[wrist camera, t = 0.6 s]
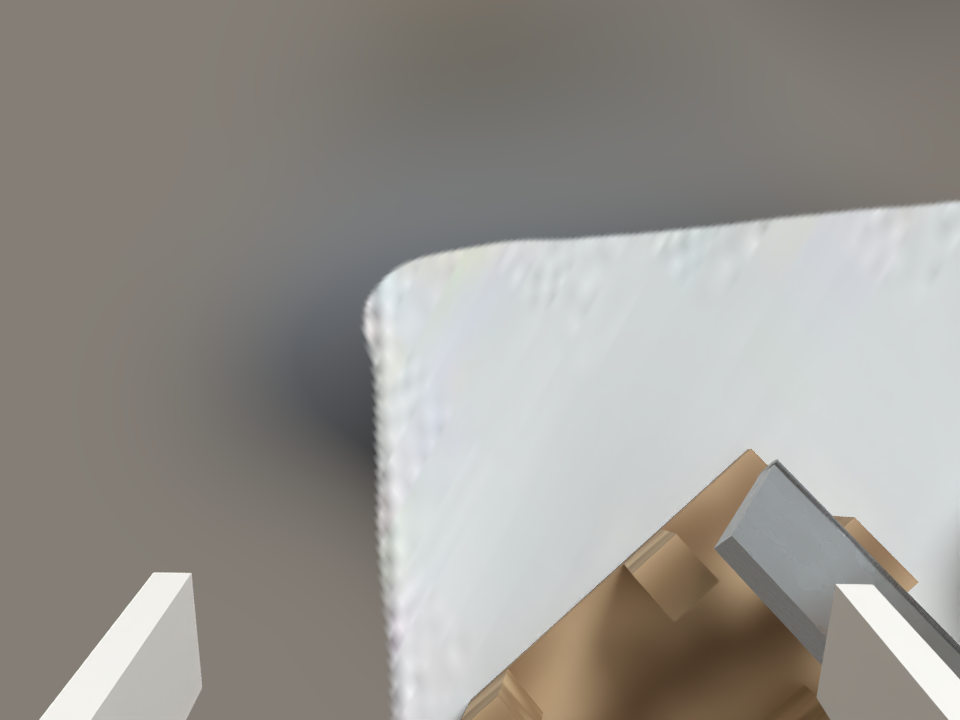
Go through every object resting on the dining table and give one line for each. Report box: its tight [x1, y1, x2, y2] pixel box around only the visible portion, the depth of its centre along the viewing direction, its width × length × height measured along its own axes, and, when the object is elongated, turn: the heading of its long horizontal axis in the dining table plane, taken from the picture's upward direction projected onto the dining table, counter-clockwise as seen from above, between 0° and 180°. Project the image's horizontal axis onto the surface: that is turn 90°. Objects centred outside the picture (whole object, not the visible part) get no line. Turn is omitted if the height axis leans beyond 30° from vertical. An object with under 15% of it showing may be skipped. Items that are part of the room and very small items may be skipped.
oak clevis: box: [461, 449, 918, 720], centre depth 39 cm, size 14×22×7 cm, turn 131°
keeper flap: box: [714, 460, 960, 679], centre depth 32 cm, size 13×9×1 cm
